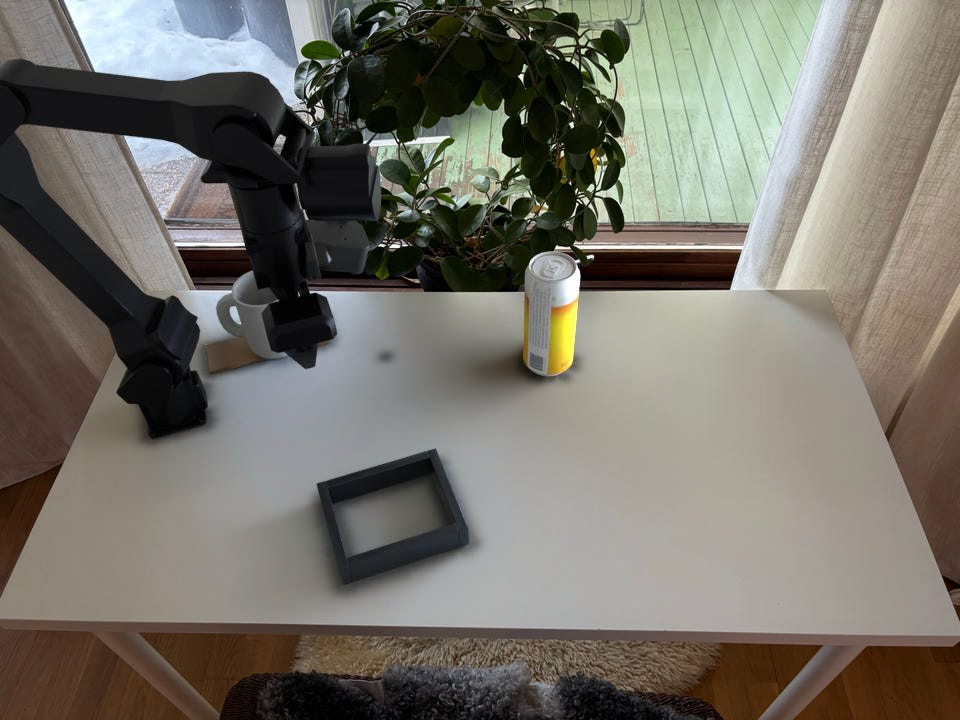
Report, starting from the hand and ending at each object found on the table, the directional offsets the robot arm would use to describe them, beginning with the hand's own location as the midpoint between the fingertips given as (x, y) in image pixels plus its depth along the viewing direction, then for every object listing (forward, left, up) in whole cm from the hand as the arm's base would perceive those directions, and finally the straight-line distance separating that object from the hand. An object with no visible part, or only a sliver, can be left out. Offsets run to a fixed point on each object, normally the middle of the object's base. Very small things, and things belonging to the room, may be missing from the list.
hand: (301, 338), depth 84 cm
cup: (-4, +14, -12) cm, 19 cm away
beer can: (+28, -2, -12) cm, 31 cm away
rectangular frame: (+4, -18, -12) cm, 22 cm away
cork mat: (-4, +13, -12) cm, 18 cm away
